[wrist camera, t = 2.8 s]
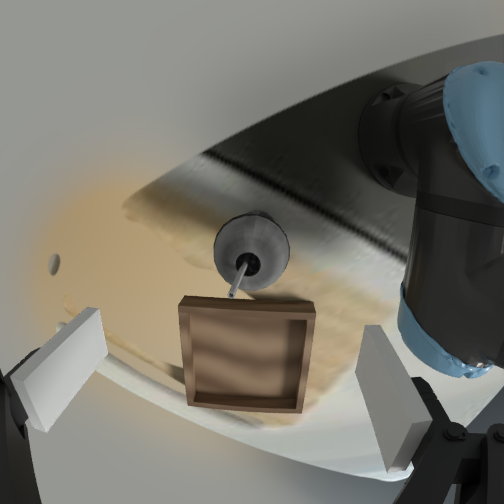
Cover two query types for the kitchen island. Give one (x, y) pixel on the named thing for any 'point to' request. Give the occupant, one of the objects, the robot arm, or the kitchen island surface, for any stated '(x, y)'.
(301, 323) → the serving tray
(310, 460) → the kitchen island surface
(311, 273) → the kitchen island surface
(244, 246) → the beverage cup
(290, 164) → the kitchen island surface
